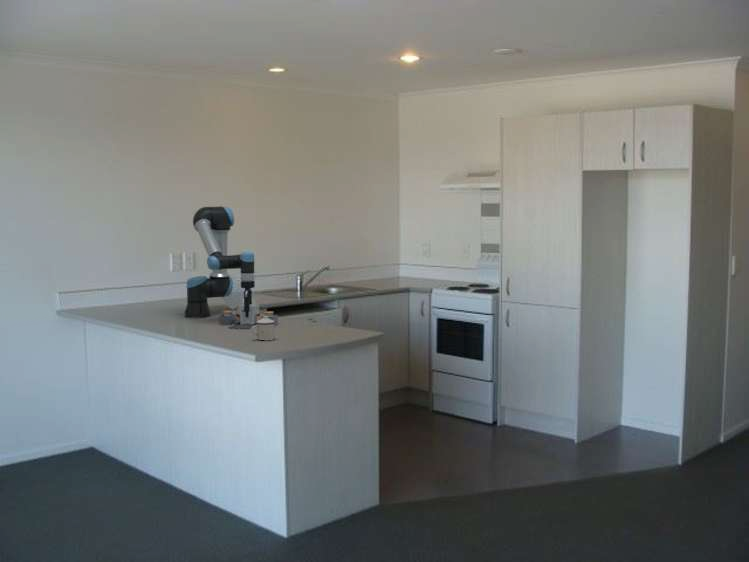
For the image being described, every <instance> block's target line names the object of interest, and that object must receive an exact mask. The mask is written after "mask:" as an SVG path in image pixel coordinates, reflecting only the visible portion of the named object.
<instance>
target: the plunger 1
mask: <svg viewBox="0 0 749 562" xmlns="http://www.w3.org/2000/svg"><path fill="white" fill-rule="evenodd" d="M222 314H224V316H231V314H233V310H223V311H222Z"/></svg>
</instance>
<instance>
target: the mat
mask: <svg viewBox="0 0 749 562" xmlns="http://www.w3.org/2000/svg"><path fill="white" fill-rule="evenodd" d="M253 326H255V325H254V324H239V325H230V326H229V327H228V328H235V329H234V330H251V329H250V328H252V327H253ZM239 328H240V329H239Z"/></svg>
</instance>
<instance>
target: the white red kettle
mask: <svg viewBox="0 0 749 562" xmlns="http://www.w3.org/2000/svg"><path fill="white" fill-rule="evenodd" d="M242 304H244V298H243V299H241V301H240V302H239V304H238V305H237V307H236V308H235V309H236V311H235V314H236V316H237V317H236V318H240V305H242ZM252 304H256V318H258V317H261V313H260V304H259V303H257V301H256V300H255V298H253V297H252ZM257 316H258V317H257Z"/></svg>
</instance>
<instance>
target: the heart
mask: <svg viewBox="0 0 749 562" xmlns="http://www.w3.org/2000/svg"><path fill="white" fill-rule="evenodd" d="M227 273H228V272H227ZM228 274H229V277H231V278H232V282H233V289H232V292H231V294H230V295H229V296H225V297H221V298H222V300H223V301H224V303H226V305H227V307H228V308H229V309H230V310H235V309H237V305H238V304H239V302H240V301H241V300H242V299H243V298H244V291H245V288H241V281H242V280H241V274H233V273H228Z"/></svg>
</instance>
